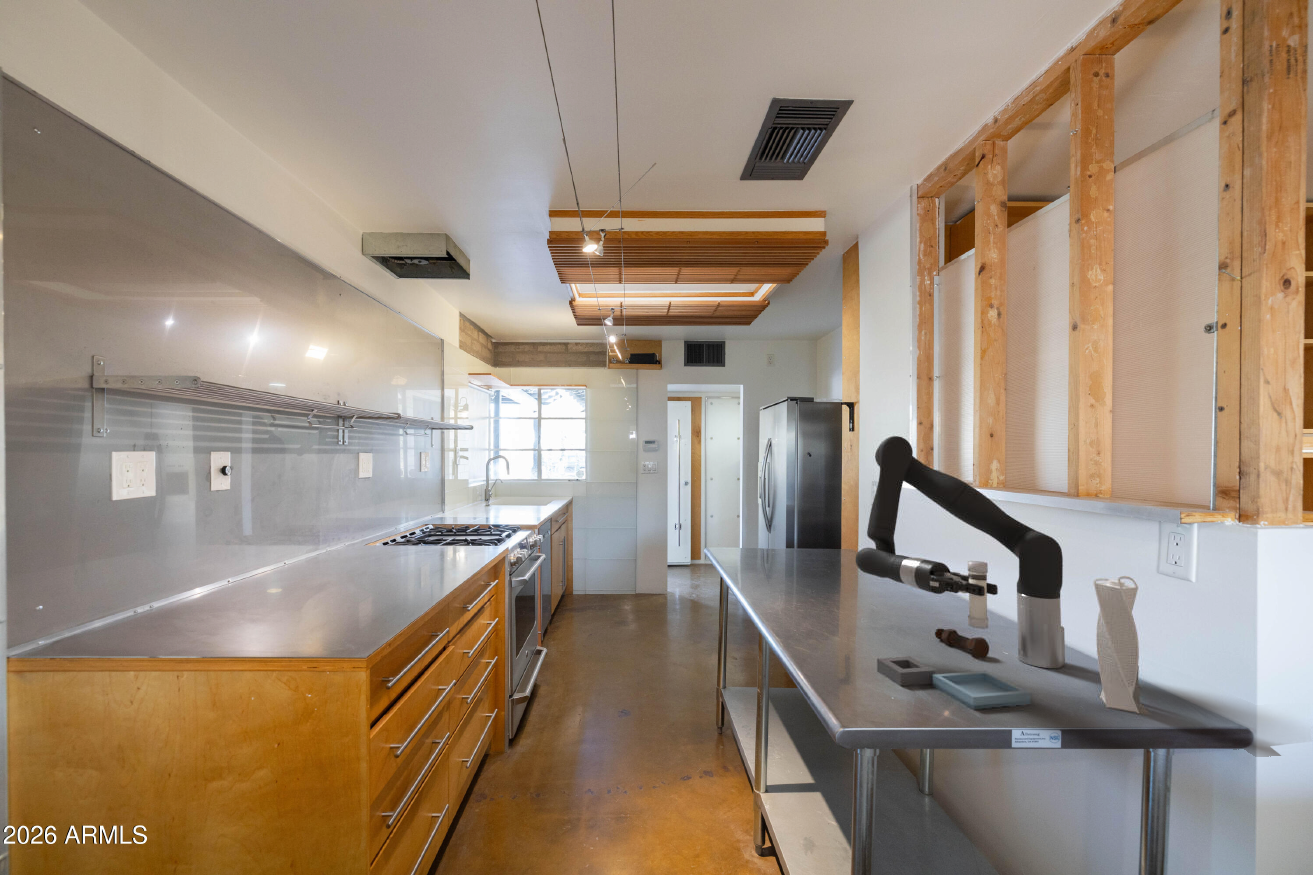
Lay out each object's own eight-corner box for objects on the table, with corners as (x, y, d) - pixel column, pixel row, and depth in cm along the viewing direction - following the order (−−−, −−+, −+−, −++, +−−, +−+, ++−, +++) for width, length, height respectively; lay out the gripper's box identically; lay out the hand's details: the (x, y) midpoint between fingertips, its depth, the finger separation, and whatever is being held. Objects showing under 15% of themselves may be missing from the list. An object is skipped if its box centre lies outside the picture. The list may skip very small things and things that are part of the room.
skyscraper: (1153, 719, 108) (1149, 579, 109) (1102, 710, 111) (1098, 575, 113) (1138, 703, 115) (1135, 572, 116) (1091, 695, 119) (1088, 568, 120)
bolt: (941, 646, 155) (984, 663, 140) (928, 638, 154) (970, 654, 140) (949, 628, 156) (992, 643, 142) (936, 620, 155) (978, 634, 141)
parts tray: (985, 681, 125) (985, 670, 125) (1030, 704, 113) (1030, 692, 113) (932, 685, 122) (932, 674, 122) (973, 709, 110) (973, 697, 111)
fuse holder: (909, 668, 132) (909, 656, 132) (935, 683, 123) (935, 670, 124) (877, 670, 131) (877, 658, 131) (900, 685, 122) (900, 672, 122)
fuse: (978, 623, 121) (978, 560, 121) (992, 628, 117) (991, 563, 118) (964, 623, 120) (963, 560, 121) (977, 629, 116) (976, 564, 117)
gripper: (902, 560, 130) (966, 575, 114) (945, 557, 135) (1012, 571, 119) (902, 592, 129) (966, 611, 113) (945, 587, 134) (1012, 605, 118)
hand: (989, 590), depth 116 cm, fingers closed on fuse, 3 cm apart
